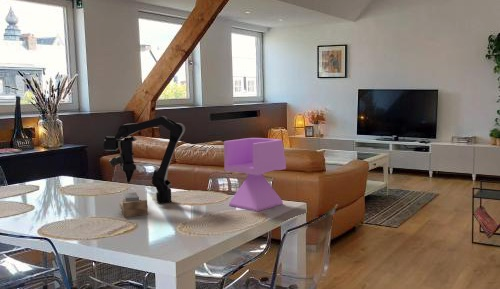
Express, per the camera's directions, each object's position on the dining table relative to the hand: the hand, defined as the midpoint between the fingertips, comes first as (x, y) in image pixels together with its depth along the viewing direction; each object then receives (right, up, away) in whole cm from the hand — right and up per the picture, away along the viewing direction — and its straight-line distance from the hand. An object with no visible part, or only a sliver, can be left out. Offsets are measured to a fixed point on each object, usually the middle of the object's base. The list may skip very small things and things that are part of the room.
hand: (128, 182), depth 240 cm
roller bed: (+6, -11, -14) cm, 19 cm away
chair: (+61, -10, -11) cm, 63 cm away
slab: (+3, -7, -9) cm, 12 cm away
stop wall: (+9, -12, -25) cm, 29 cm away
